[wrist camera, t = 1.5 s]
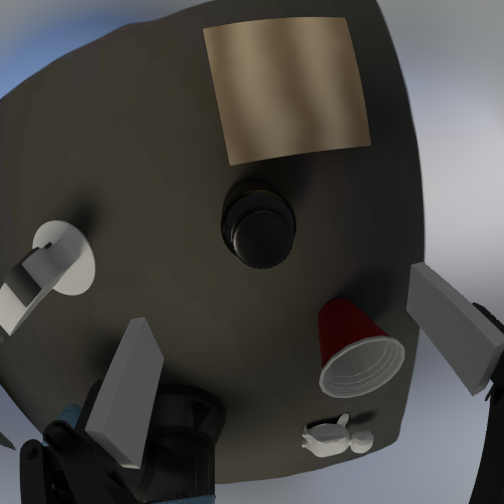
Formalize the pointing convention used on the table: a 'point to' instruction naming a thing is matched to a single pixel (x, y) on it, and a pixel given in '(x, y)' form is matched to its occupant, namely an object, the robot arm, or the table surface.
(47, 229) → the disc-based toy figure
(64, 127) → the table surface
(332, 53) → the oak block
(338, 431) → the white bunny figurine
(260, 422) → the table surface
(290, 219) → the supplement bottle
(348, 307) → the plastic cup
